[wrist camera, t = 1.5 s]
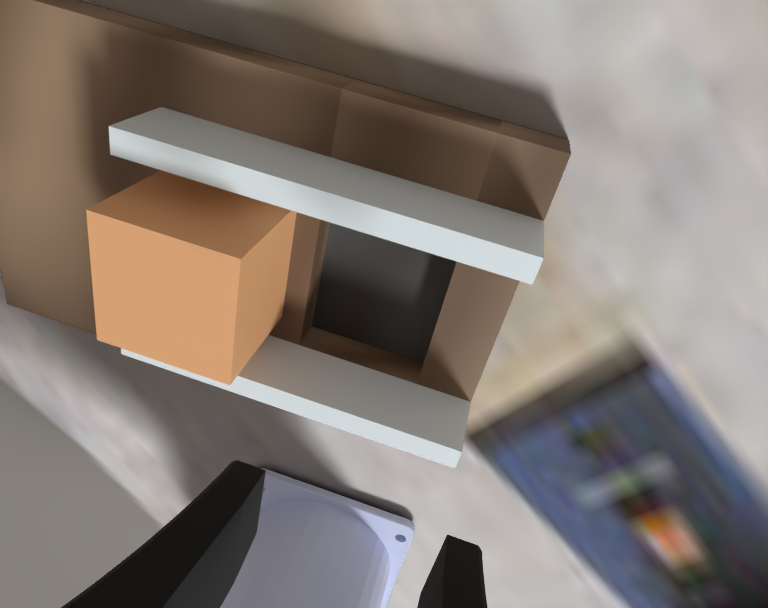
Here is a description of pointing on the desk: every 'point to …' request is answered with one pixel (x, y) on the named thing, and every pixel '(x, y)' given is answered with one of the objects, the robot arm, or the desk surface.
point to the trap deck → (276, 122)
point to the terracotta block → (188, 273)
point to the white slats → (358, 212)
